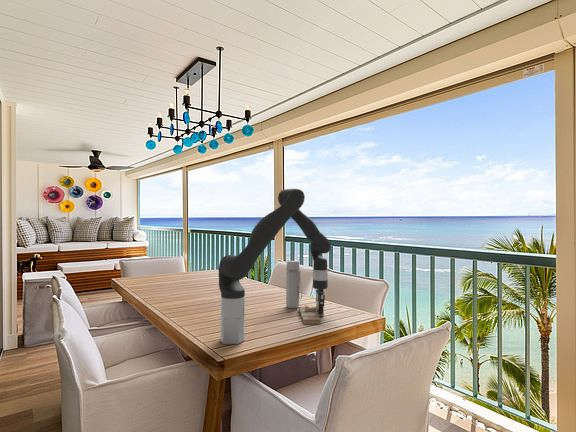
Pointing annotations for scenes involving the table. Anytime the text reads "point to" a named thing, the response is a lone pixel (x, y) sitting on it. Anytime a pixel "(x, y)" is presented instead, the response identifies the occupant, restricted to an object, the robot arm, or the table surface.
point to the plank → (309, 316)
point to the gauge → (315, 308)
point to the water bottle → (293, 284)
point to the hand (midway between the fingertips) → (319, 312)
